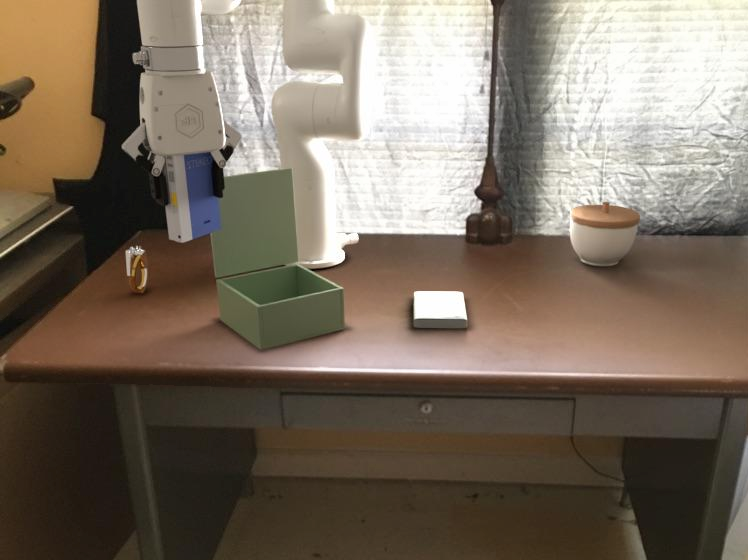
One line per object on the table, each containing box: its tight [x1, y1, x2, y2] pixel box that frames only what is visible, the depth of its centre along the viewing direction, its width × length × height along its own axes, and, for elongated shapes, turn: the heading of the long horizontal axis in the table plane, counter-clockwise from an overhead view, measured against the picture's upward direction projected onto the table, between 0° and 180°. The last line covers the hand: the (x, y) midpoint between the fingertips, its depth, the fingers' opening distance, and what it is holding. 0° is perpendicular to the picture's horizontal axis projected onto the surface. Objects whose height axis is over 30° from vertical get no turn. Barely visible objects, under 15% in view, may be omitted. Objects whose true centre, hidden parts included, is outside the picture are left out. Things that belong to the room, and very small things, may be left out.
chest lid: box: [209, 168, 298, 279], centre depth 129 cm, size 15×14×1 cm
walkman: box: [162, 152, 221, 244], centre depth 115 cm, size 8×3×12 cm, turn 148°
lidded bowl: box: [569, 201, 641, 267], centre depth 158 cm, size 13×13×11 cm
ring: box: [125, 245, 150, 294], centre depth 141 cm, size 7×3×8 cm, turn 172°
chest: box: [215, 264, 346, 351], centre depth 129 cm, size 14×14×7 cm
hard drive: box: [413, 290, 468, 329], centre depth 135 cm, size 2×8×12 cm
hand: (189, 198), depth 115 cm, fingers closed on walkman, 7 cm apart
